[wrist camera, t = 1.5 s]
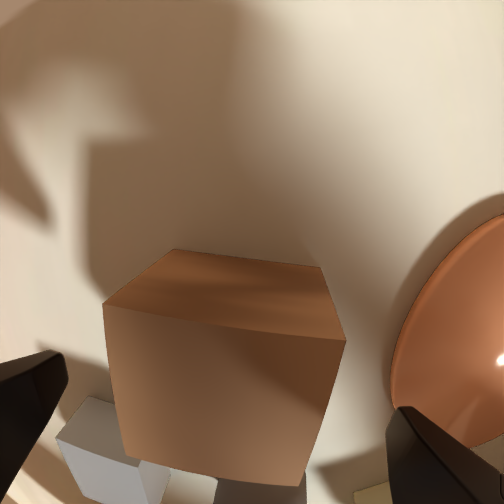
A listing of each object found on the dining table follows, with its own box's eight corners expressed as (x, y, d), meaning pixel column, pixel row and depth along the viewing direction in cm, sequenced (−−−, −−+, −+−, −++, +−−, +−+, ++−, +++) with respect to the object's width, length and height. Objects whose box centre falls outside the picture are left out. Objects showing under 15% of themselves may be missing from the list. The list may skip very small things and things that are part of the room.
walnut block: (319, 266, 11) (346, 340, 6) (296, 386, 12) (298, 486, 7) (174, 248, 11) (102, 303, 6) (172, 368, 12) (125, 454, 8)
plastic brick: (163, 414, 13) (137, 467, 10) (171, 473, 14) (154, 520, 11) (89, 394, 13) (55, 437, 10) (107, 455, 15) (83, 496, 11)
